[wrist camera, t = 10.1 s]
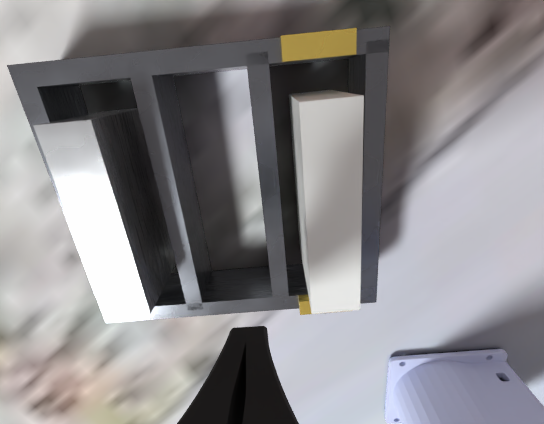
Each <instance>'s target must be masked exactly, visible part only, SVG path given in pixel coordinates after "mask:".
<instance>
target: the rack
mask: <svg viewBox="0 0 544 424" xmlns="http://www.w3.org/2000/svg"><path fill="white" fill-rule="evenodd" d="M389 35H390V26H387V27H377V28H367V29H357V28H350V29H341V30H331V31H321V32H311V33H302V34H292V35H282V36H281V37H279V38H269V39H260V40H250V41H240V42H230V43H220V44H211V45H201V46H191V47H181V48H172V49H162V50H152V51H142V52H133V53H123V54H113V55H103V56H93V57H84V58H74V59H64V60H54V61H45V62H35V63H25V64H15V65H7V67H8V69H9V72H10V74H11V77H12V80H13V82H14V85H15V88H16V90H17V93H18V95H19V98H20V101H21V103H22V106H23V108H24V111H25V114H26V116H27V119H28V121H29V124H30V127H31V129H32V132H33V134H34V137H35V140H36V142H37V145H38V148H39V150H40V153H41V155H42V158H43V161H44V163H45V166H46V168H47V171H48V174H49V176H50V179H51V181H52V184H53V187H54V189H55V192H56V194H57V197H58V200H59V202H60V205H61V207H62V210H63V213H64V215H65V218H66V221H67V223H68V226H69V228H70V231H71V234H72V236H73V239H74V241H75V244H76V247H77V249H78V252H79V254H80V257H81V260H82V262H83V265H84V267H85V270H86V273H87V275H88V278H89V280H90V283H91V286H92V288H93V291H94V294H95V296H96V299H97V301H98V304H99V307H100V309H101V312H102V314H103V317H104V320H105V322H106V323H114V322H127V321H140V320H153V319H166V318H179V317H192V316H205V315H218V314H231V313H244V312H257V311H270V310H283V309H296V308H299V309H300V315H305V314H312V313H311V307H310V302H309V296H308V290H307V285H306V279H305V274H304V268H303V264H292V265H286V258H285V246H284V234H283V223H282V211H281V199H280V188H279V176H278V164H277V153H276V141H275V129H274V118H273V106H272V94H271V83H270V71H269V67H270V66H280V65H290V64H300V63H310V62H320V61H330V60H340V59H348V93H352V94H358V95H364V115H363V173H362V231H361V289H360V303H373V302H376V296H377V276H378V256H379V236H380V216H381V196H382V176H383V156H384V135H385V115H386V95H387V75H388V55H389ZM240 69H247V70H248V79H249V88H250V98H251V107H252V116H253V125H254V134H255V143H256V152H257V161H258V170H259V179H260V188H261V197H262V206H263V215H264V224H265V233H266V242H267V251H268V260H269V266H267V267H255V268H242V269H230V270H218V271H212V270H211V265H210V260H209V255H208V250H207V245H206V240H205V235H204V229H203V224H202V219H201V214H200V209H199V204H198V199H197V194H196V189H195V184H194V179H193V174H192V168H191V163H190V158H189V153H188V148H187V143H186V138H185V133H184V128H183V123H182V118H181V113H180V107H179V102H178V97H177V92H176V87H175V82H174V77H173V76H179V75H189V74H199V73H209V72H220V71H230V70H240ZM129 80H131V82H132V87H133V91H134V95H135V99H136V103H137V107H138V108H134V109H124V110H114V111H104V112H99V113H94V114H89V115H88V112H87V109H86V106H85V102H84V99H83V96H82V93H81V89H80V86H79V85H89V84H99V83H109V82H119V81H129ZM175 265H177V269H178V273H179V274H171V273H172V271H173V269H174V267H175ZM341 312H344V311H341ZM328 313H331V312H328ZM316 314H318V313H316Z"/></svg>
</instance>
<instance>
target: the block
mask: <svg viewBox="0 0 544 424" xmlns="http://www.w3.org/2000/svg"><path fill="white" fill-rule="evenodd" d="M289 105H290V119H291V133H292V147H293V161H294V175H295V189H296V203H297V217H298V232H299V246H300V251H301V257H302V262H303V268H304V274H305V279H306V285H307V290H308V296H309V302H310V307H311V313H312V314H316V313H328V312H341V311H353V310H360V289H361V231H362V173H363V115H364V95H358V94H352V93H346V92H340V91H335V90H324V91H314V92H304V93H295V94H289Z"/></svg>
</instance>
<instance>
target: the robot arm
mask: <svg viewBox="0 0 544 424" xmlns="http://www.w3.org/2000/svg"><path fill="white" fill-rule="evenodd" d="M507 357H508V354H507V353H506V352H505V350H503V349H491V350H477V351H464V352H450V353H436V354H422V355H408V356H395V357H392V358H390V359H389V363H388V376H387V390H386V403H385V416H384V417H385V421H386V422H387V423H389V424H395V423H402V424H544V406H543V405H542V404H541V403H540V401H539V400H538V399H537V398H536V397H535V395H534V394H533V393H532V392H531V391H530V390H529V388H528V387H527V386H526V385H525V384H524V382H523V381H522V380H521V379H520V378H519V376H518V375H517V374H516V373H515V372H514V370H513V369H512V368H511V367H510V366H509V364H508V363H507V362H506V360H507ZM177 424H299V423H298V421H297V419H296V417H295V415H294V413H293V411H292V409H291V407H290V404H289V402H288V400H287V398H286V395H285V393H284V391H283V388H282V386H281V383H280V381H279V378H278V375H277V372H276V369H275V366H274V363H273V360H272V357H271V353H270V349H269V343H268V334H267V328H266V327H264V326H257V327H241V328H233V329H232V330H231V331H230V333H229V336H228V338H227V341H226V343H225V345H224V347H223V349H222V351H221V353H220V355H219V357H218V359H217V361H216V363H215V365H214V367H213V369H212V370H211V372H210V374H209V376H208V378H207V379H206V381H205V383H204V384H203V386H202V387H201V389H200V391H199V392H198V394H197V396H196V397H195V399H194V400H193V402H192V403H191V405H190V406H189V408H188V409H187V411H186V412H185V413H184V415H183V416H182V418H181V419H180V420H179V422H178V423H177Z"/></svg>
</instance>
